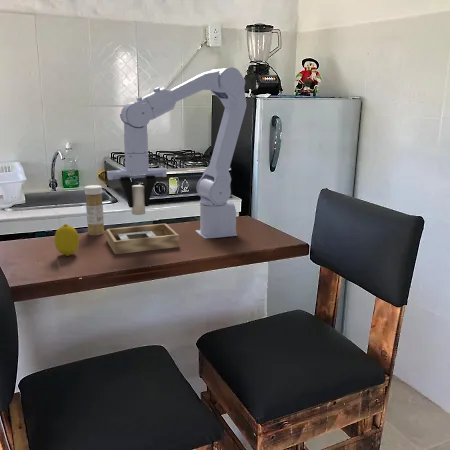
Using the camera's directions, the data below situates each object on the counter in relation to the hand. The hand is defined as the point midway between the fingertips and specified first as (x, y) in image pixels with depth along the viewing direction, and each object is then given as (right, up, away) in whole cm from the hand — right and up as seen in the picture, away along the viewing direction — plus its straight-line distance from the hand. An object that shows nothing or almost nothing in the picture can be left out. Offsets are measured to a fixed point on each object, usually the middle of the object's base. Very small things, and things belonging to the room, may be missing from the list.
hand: (138, 206), depth 128 cm
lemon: (-15, -13, -7) cm, 21 cm away
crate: (+1, -10, +1) cm, 10 cm away
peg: (0, -2, +1) cm, 2 cm away
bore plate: (0, -10, +1) cm, 10 cm away
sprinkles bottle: (-14, -8, +11) cm, 19 cm away
